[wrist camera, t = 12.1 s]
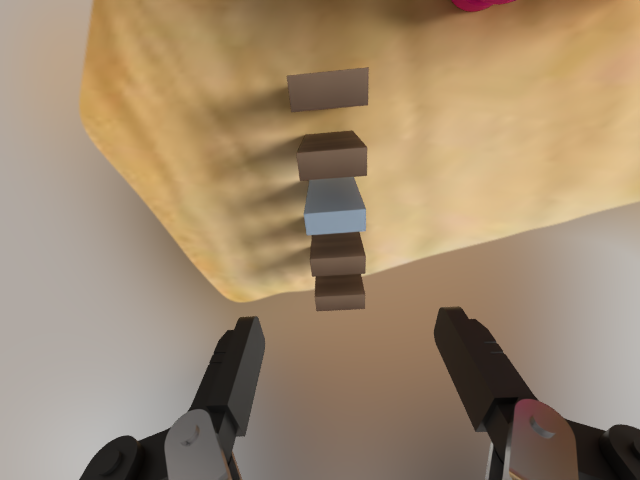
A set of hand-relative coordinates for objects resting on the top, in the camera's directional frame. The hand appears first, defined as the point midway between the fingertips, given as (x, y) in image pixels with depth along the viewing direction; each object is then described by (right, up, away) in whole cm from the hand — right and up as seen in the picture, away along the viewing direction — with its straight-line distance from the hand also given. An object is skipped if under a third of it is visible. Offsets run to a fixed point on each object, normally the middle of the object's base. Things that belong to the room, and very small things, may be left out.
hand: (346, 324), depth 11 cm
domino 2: (0, +14, +15) cm, 21 cm away
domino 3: (0, +10, +18) cm, 21 cm away
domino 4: (+1, +6, +20) cm, 21 cm away
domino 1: (-1, +18, +13) cm, 22 cm away
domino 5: (+1, +3, +22) cm, 22 cm away
